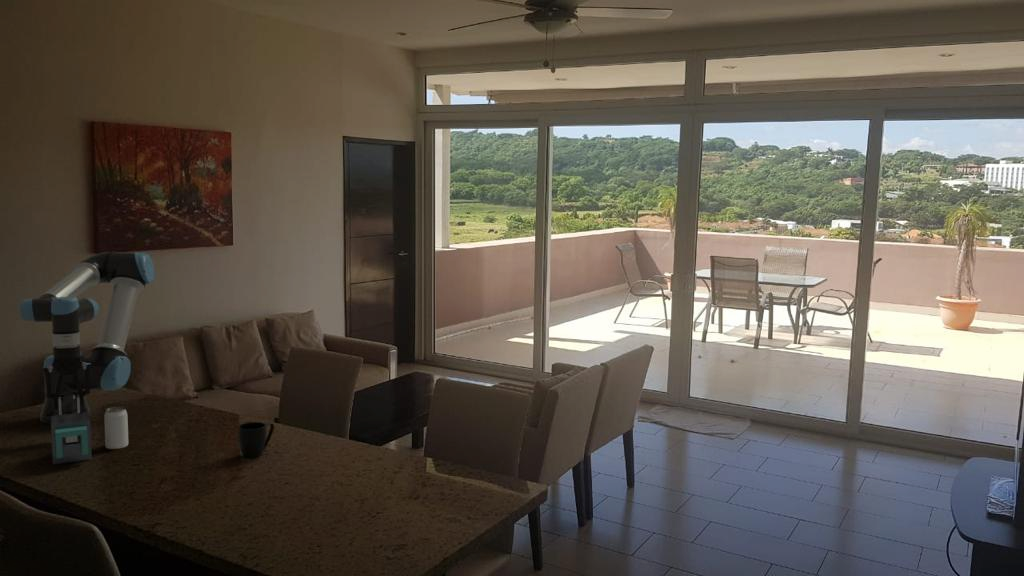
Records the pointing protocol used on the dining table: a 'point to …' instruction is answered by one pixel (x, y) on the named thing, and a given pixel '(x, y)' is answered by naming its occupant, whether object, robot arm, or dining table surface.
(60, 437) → the block
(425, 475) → the dining table surface
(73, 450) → the housing
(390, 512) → the dining table surface
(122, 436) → the can
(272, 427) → the mug
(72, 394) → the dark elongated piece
